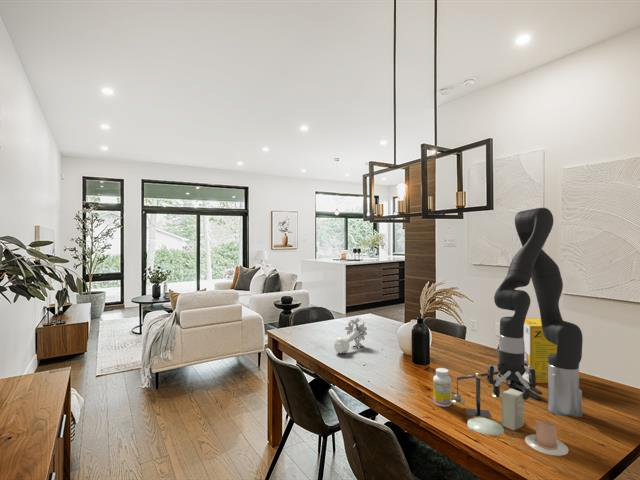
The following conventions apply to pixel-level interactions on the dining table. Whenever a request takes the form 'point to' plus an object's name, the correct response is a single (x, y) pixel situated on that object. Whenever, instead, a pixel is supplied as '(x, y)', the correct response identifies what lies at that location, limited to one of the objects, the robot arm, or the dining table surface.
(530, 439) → the dish near
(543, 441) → the peach domed cylinder
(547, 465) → the dining table surface
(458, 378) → the balance
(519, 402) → the skincare box
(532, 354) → the packaging box
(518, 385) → the can opener
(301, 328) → the dining table surface
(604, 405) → the dining table surface
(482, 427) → the pale white round dome
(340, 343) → the flower vase
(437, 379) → the supplement bottle
